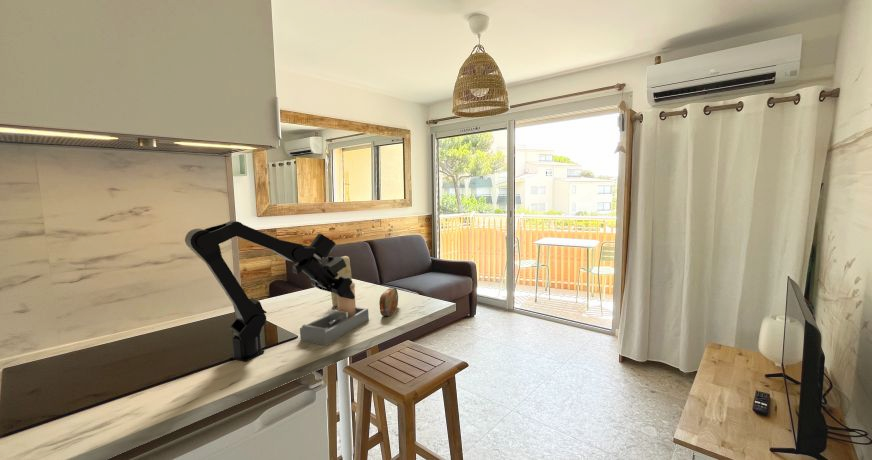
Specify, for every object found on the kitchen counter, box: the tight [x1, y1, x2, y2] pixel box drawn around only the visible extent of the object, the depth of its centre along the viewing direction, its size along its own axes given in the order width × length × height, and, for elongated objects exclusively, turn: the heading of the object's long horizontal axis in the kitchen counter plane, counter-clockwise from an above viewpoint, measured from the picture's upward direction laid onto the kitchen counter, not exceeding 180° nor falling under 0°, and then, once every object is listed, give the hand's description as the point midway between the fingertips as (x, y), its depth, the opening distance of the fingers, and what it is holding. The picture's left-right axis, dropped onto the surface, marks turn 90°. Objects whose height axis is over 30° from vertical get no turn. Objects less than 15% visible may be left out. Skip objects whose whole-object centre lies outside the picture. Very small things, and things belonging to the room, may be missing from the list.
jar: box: [337, 281, 357, 318], centre depth 127 cm, size 6×6×13 cm
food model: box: [330, 255, 353, 307], centre depth 147 cm, size 10×7×20 cm
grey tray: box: [299, 306, 370, 346], centre depth 122 cm, size 23×10×5 cm, turn 157°
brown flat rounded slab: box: [379, 287, 399, 317], centre depth 138 cm, size 15×3×8 cm, turn 168°
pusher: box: [327, 309, 348, 326], centre depth 121 cm, size 5×7×5 cm
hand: (346, 295), depth 127 cm, fingers open, 9 cm apart
